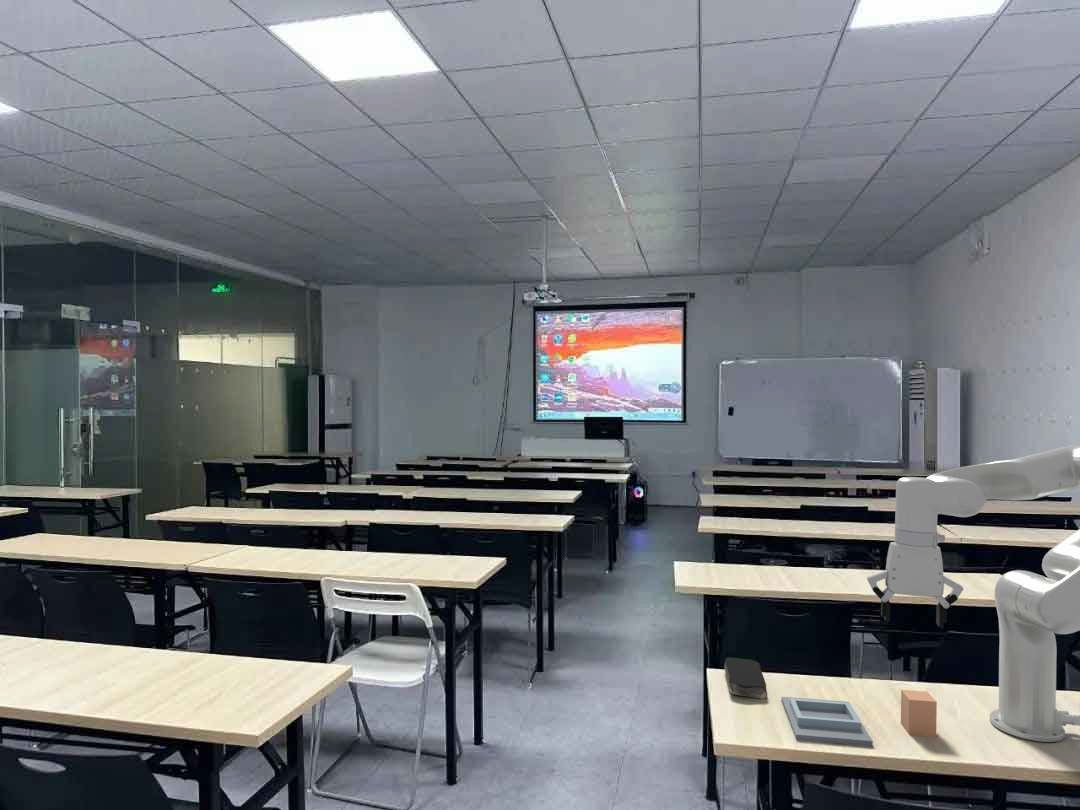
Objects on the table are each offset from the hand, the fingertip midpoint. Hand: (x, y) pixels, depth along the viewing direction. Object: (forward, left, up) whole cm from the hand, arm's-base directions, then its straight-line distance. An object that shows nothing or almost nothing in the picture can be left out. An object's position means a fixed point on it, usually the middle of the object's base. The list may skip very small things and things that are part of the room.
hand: (913, 623), depth 143 cm
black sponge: (+31, -16, -22) cm, 41 cm away
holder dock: (+17, +1, -21) cm, 27 cm away
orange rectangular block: (-1, +1, -21) cm, 21 cm away
